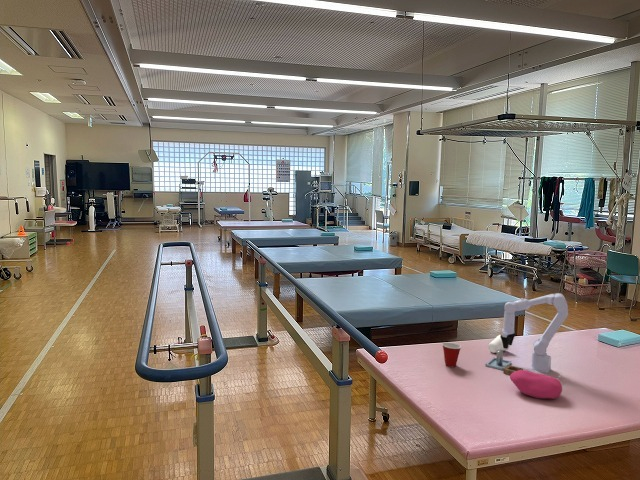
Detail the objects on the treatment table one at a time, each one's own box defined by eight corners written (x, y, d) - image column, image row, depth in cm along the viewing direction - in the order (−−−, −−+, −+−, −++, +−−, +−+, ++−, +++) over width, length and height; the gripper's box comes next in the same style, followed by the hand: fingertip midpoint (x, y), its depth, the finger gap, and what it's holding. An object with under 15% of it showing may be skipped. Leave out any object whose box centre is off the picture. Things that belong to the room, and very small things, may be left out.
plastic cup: (465, 366, 262) (466, 345, 261) (452, 370, 256) (453, 349, 254) (449, 360, 271) (450, 340, 269) (437, 364, 264) (437, 343, 263)
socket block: (522, 373, 253) (523, 368, 252) (518, 377, 246) (519, 372, 246) (507, 369, 258) (508, 364, 257) (503, 374, 251) (503, 369, 251)
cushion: (503, 388, 231) (506, 369, 229) (521, 379, 243) (524, 362, 241) (550, 409, 214) (554, 389, 212) (566, 399, 226) (570, 380, 224)
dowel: (503, 364, 263) (504, 351, 262) (500, 366, 261) (501, 352, 260) (498, 363, 266) (498, 349, 265) (494, 364, 263) (495, 350, 263)
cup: (501, 348, 277) (512, 342, 283) (488, 337, 283) (499, 331, 289) (495, 359, 283) (506, 353, 289) (482, 348, 289) (493, 342, 295)
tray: (511, 364, 266) (511, 361, 266) (503, 371, 255) (503, 368, 255) (493, 360, 272) (493, 357, 272) (485, 366, 261) (485, 364, 261)
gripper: (505, 319, 271) (504, 341, 273) (497, 324, 260) (496, 348, 261) (518, 321, 267) (516, 344, 268) (510, 327, 255) (509, 351, 257)
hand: (507, 346), depth 264 cm, fingers open, 7 cm apart
